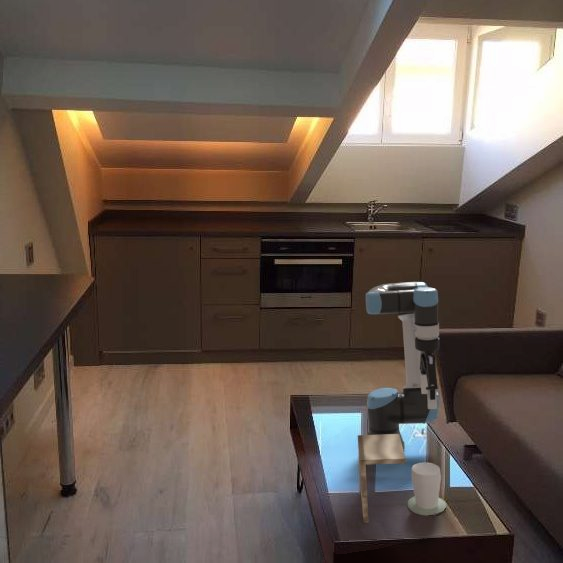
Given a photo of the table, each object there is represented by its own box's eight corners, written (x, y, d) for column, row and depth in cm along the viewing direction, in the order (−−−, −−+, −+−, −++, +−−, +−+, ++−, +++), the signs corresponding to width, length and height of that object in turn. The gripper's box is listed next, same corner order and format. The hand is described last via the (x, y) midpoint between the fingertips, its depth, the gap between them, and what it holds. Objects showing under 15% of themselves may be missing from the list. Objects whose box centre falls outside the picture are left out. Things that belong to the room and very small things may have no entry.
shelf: (401, 492, 207) (399, 433, 203) (408, 521, 189) (405, 458, 186) (360, 493, 208) (357, 435, 205) (363, 522, 190) (360, 459, 187)
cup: (442, 512, 192) (441, 476, 190) (412, 510, 194) (411, 475, 192) (441, 497, 201) (440, 462, 199) (412, 496, 202) (411, 461, 201)
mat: (418, 492, 206) (418, 491, 206) (452, 502, 198) (452, 501, 198) (400, 508, 197) (400, 507, 197) (435, 520, 189) (435, 518, 189)
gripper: (409, 327, 209) (412, 388, 213) (420, 348, 185) (422, 416, 188) (432, 326, 208) (434, 387, 212) (446, 347, 184) (448, 415, 187)
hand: (429, 400), depth 200 cm, fingers open, 13 cm apart
